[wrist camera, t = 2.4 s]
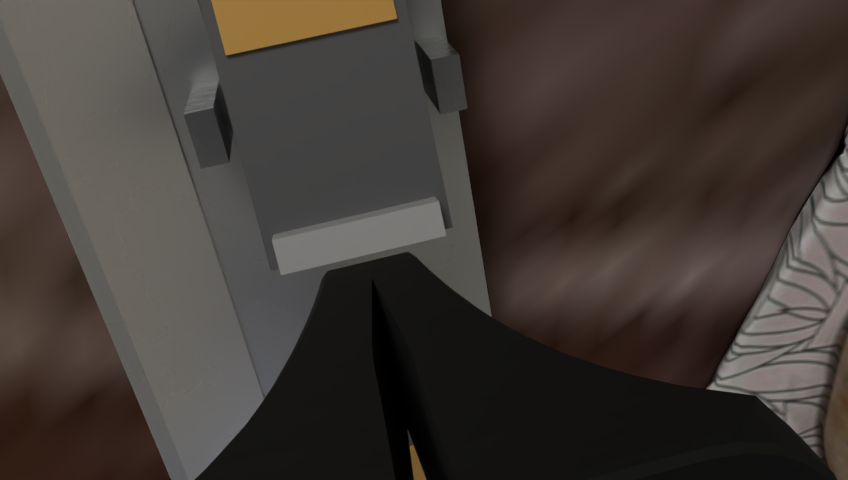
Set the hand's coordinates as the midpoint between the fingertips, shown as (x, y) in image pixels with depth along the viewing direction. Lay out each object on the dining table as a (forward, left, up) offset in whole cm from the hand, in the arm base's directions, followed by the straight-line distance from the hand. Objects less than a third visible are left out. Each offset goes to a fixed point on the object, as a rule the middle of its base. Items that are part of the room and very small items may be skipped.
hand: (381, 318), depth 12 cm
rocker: (+2, 0, -4) cm, 5 cm away
